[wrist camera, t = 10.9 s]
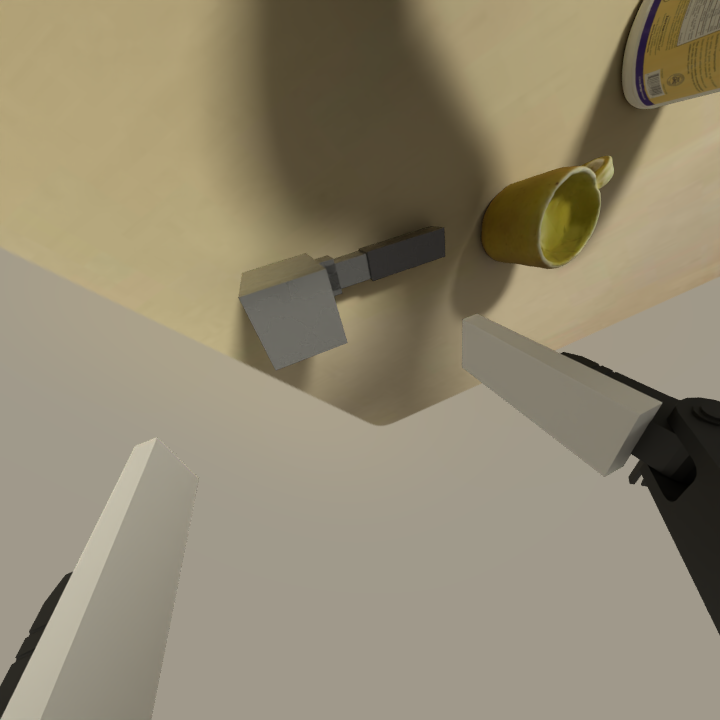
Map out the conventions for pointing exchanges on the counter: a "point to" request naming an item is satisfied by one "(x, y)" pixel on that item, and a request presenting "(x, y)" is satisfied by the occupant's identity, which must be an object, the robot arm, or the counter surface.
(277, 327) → the grey block
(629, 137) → the counter surface
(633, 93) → the supplement tub
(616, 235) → the counter surface
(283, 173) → the counter surface
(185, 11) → the counter surface
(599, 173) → the mug
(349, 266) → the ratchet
